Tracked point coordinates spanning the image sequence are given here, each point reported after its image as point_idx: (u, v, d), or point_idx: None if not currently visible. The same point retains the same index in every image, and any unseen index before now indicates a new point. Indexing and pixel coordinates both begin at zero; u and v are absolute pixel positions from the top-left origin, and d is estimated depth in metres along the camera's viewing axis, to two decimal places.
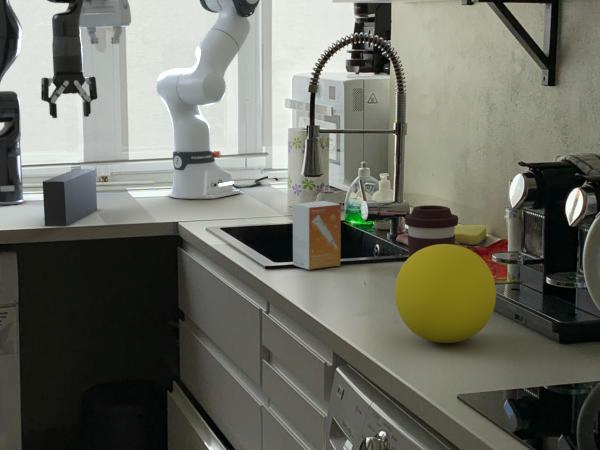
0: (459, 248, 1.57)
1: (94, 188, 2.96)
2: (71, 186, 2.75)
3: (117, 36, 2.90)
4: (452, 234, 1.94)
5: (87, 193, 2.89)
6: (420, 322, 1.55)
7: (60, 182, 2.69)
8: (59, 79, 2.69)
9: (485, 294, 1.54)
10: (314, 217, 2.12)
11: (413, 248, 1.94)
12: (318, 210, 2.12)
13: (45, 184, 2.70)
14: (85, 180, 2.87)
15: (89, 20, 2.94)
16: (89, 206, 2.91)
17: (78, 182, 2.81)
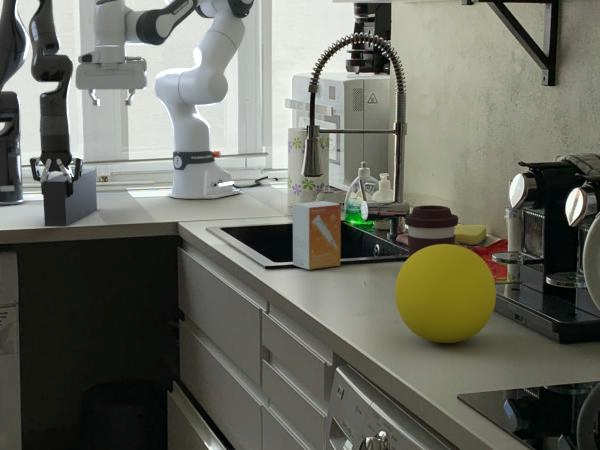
0: (459, 248, 1.57)
1: (94, 188, 2.96)
2: None
3: (131, 98, 2.97)
4: (452, 234, 1.94)
5: (87, 193, 2.89)
6: (420, 322, 1.55)
7: (60, 182, 2.69)
8: (44, 157, 2.71)
9: (485, 294, 1.54)
10: (314, 217, 2.12)
11: (413, 248, 1.94)
12: (318, 210, 2.12)
13: (45, 184, 2.69)
14: (85, 180, 2.87)
15: (95, 83, 2.96)
16: (89, 206, 2.91)
17: (78, 182, 2.81)
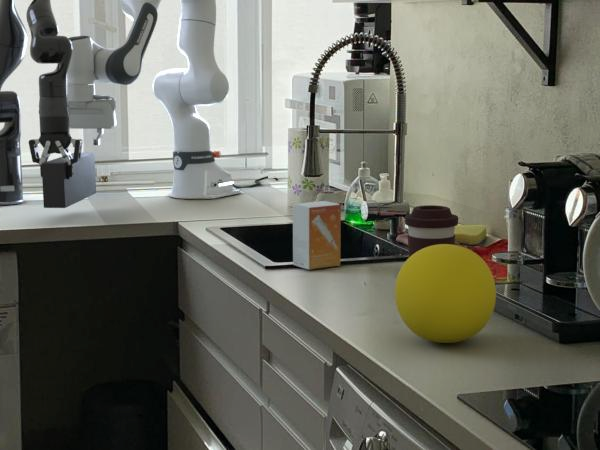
0: (459, 248, 1.57)
1: (93, 171, 2.95)
2: None
3: (99, 137, 2.91)
4: (452, 234, 1.94)
5: (86, 176, 2.88)
6: (420, 322, 1.55)
7: (59, 164, 2.68)
8: (43, 139, 2.70)
9: (485, 294, 1.54)
10: (314, 217, 2.12)
11: (413, 248, 1.94)
12: (318, 210, 2.12)
13: (44, 166, 2.69)
14: (84, 163, 2.86)
15: None
16: (88, 190, 2.90)
17: (77, 165, 2.80)
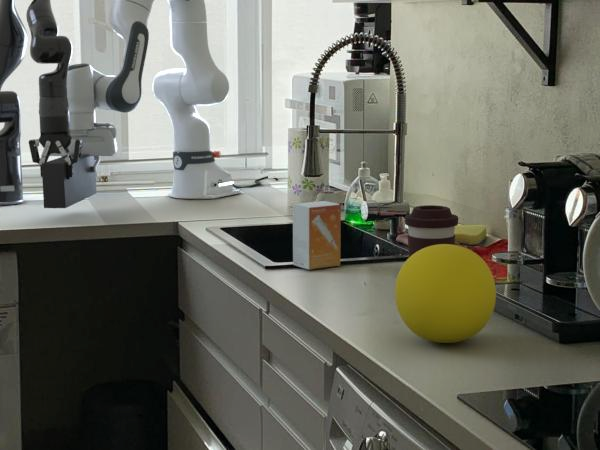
0: (459, 248, 1.57)
1: (93, 172, 2.95)
2: None
3: (97, 165, 2.93)
4: (452, 234, 1.94)
5: (86, 176, 2.88)
6: (420, 322, 1.55)
7: (59, 164, 2.68)
8: (43, 139, 2.70)
9: (485, 294, 1.54)
10: (314, 217, 2.12)
11: (413, 248, 1.94)
12: (318, 210, 2.12)
13: (44, 166, 2.69)
14: (84, 163, 2.86)
15: None
16: (88, 190, 2.90)
17: (77, 165, 2.80)
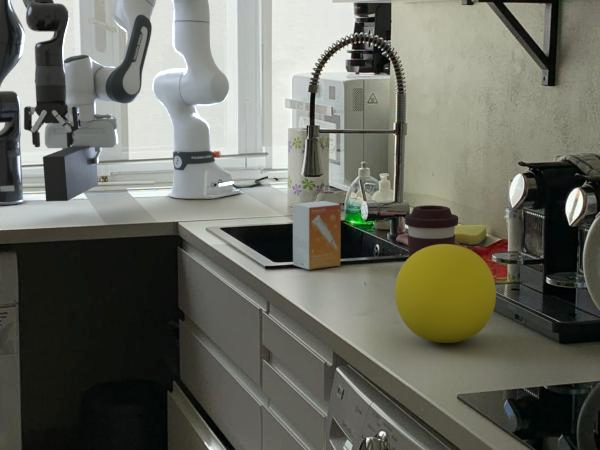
0: (459, 248, 1.57)
1: None
2: (71, 161, 2.74)
3: (98, 156, 2.92)
4: (452, 234, 1.94)
5: (87, 168, 2.88)
6: (420, 322, 1.55)
7: (60, 157, 2.68)
8: (39, 108, 2.66)
9: (485, 294, 1.54)
10: (314, 217, 2.12)
11: (413, 248, 1.94)
12: (318, 210, 2.12)
13: (45, 159, 2.69)
14: (85, 155, 2.86)
15: (64, 141, 2.91)
16: (90, 181, 2.90)
17: (78, 157, 2.80)
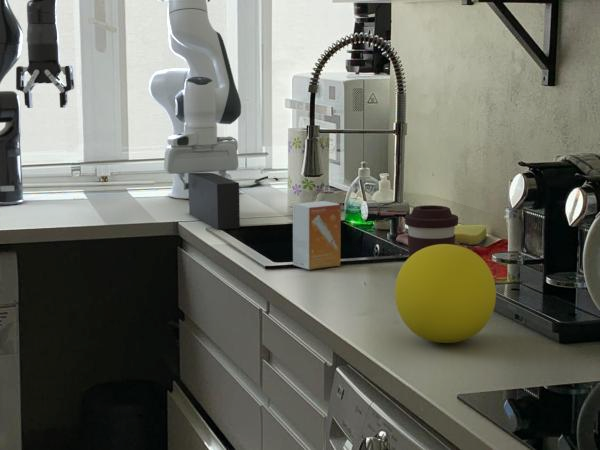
0: (459, 248, 1.57)
1: None
2: None
3: None
4: (452, 234, 1.94)
5: None
6: (420, 322, 1.55)
7: (235, 183, 2.63)
8: (31, 68, 2.61)
9: (485, 294, 1.54)
10: (314, 217, 2.12)
11: (413, 248, 1.94)
12: (318, 210, 2.12)
13: (220, 186, 2.61)
14: None
15: (188, 166, 2.81)
16: None
17: None
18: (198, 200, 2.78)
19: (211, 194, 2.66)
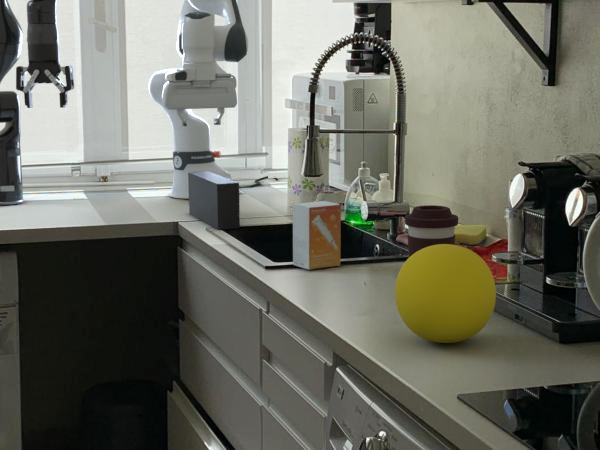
0: (459, 248, 1.57)
1: None
2: None
3: None
4: (452, 234, 1.94)
5: None
6: (420, 322, 1.55)
7: (235, 183, 2.63)
8: (31, 68, 2.61)
9: (485, 294, 1.54)
10: (314, 217, 2.12)
11: (413, 248, 1.94)
12: (318, 210, 2.12)
13: (220, 186, 2.61)
14: None
15: (186, 102, 2.78)
16: None
17: None
18: (198, 200, 2.78)
19: (211, 194, 2.66)
